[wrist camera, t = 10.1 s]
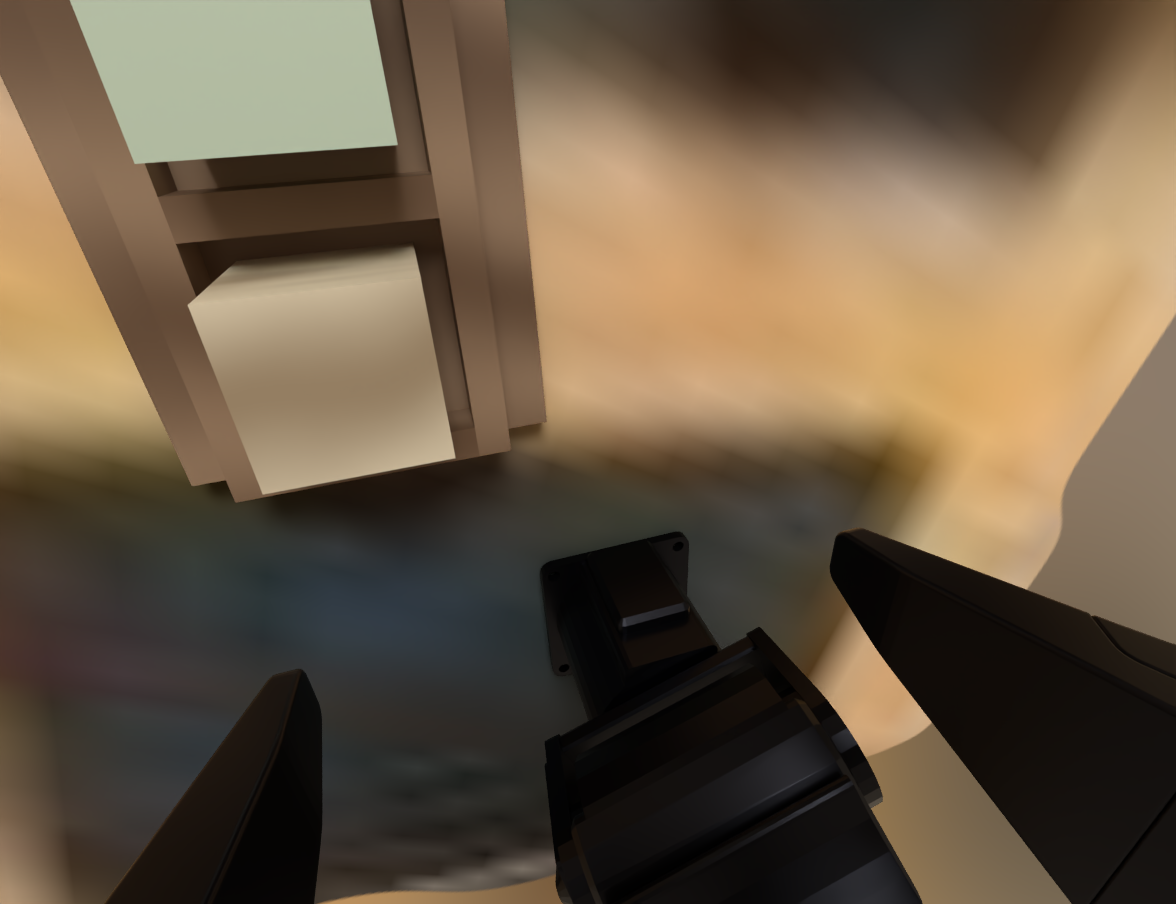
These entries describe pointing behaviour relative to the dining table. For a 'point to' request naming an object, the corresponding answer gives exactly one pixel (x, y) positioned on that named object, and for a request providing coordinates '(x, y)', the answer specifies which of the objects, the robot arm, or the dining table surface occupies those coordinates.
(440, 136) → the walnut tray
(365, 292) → the maple block
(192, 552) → the dining table surface
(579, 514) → the dining table surface
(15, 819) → the dining table surface
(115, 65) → the sage block
